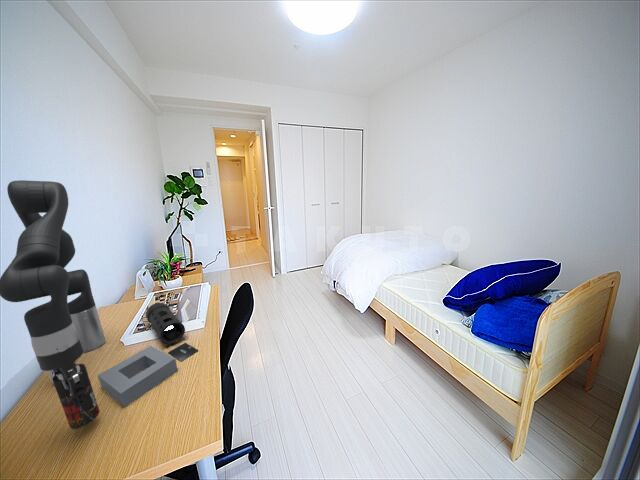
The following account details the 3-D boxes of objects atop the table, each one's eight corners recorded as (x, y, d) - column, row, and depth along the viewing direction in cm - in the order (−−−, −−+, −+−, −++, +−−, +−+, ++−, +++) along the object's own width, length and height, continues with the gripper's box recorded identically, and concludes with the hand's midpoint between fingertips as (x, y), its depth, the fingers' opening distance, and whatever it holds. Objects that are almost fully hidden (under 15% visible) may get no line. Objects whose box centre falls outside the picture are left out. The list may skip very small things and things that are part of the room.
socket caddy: (101, 388, 79) (97, 375, 78) (153, 357, 92) (150, 345, 91) (124, 407, 71) (120, 393, 70) (177, 370, 84) (175, 358, 83)
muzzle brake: (162, 351, 96) (157, 328, 93) (147, 325, 115) (142, 305, 113) (188, 339, 102) (183, 317, 100) (169, 317, 122) (165, 298, 119)
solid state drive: (185, 343, 100) (185, 342, 100) (199, 351, 94) (198, 350, 94) (167, 353, 94) (167, 352, 94) (181, 362, 89) (180, 361, 89)
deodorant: (70, 418, 65) (53, 372, 62) (99, 404, 69) (84, 360, 66) (69, 434, 61) (51, 385, 57) (100, 418, 65) (85, 371, 61)
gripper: (26, 345, 60) (47, 400, 63) (45, 363, 53) (67, 424, 57) (67, 328, 66) (84, 379, 70) (89, 343, 59) (106, 399, 63)
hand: (76, 399), depth 63 cm, fingers closed on deodorant, 6 cm apart
